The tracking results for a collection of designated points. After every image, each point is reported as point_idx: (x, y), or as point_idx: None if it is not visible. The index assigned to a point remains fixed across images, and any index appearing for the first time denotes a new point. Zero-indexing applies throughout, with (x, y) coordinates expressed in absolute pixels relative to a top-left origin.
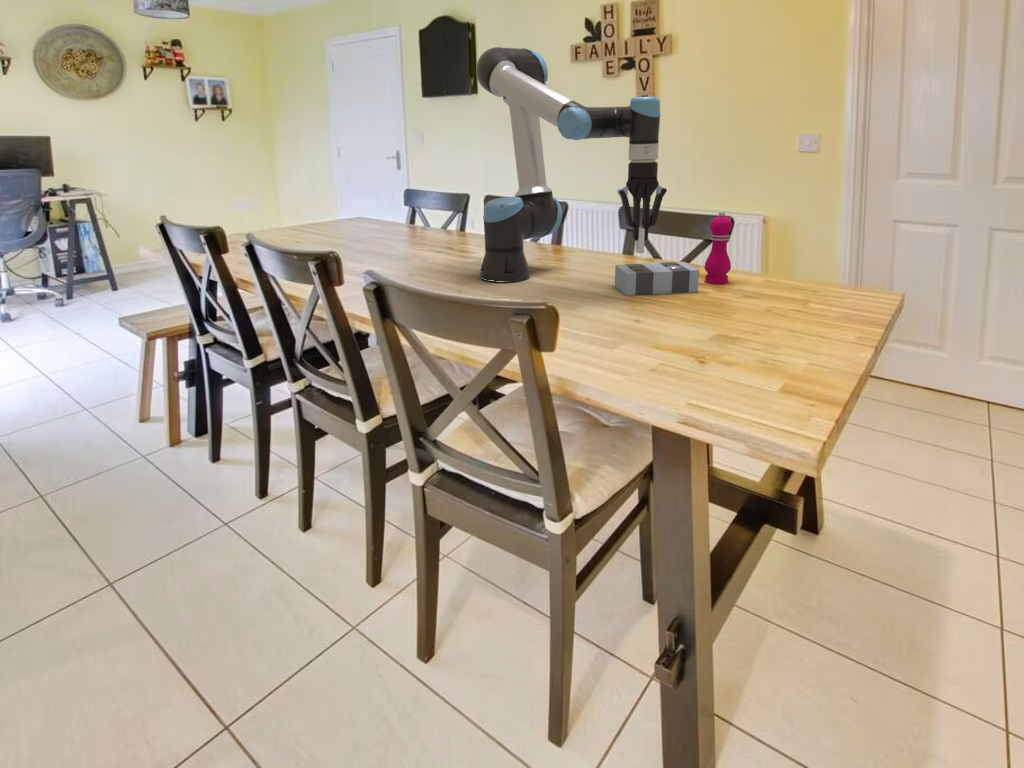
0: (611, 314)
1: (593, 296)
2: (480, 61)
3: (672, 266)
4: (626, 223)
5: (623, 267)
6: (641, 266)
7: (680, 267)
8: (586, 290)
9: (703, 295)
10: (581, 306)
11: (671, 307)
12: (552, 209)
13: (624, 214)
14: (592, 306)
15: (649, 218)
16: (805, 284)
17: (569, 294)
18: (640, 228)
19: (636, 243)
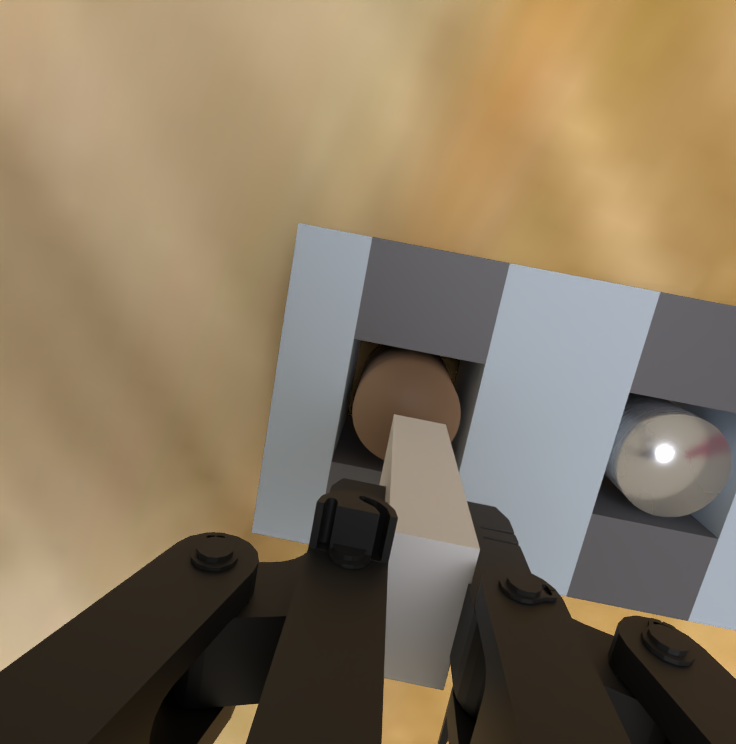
0: None
1: (121, 417)
2: None
3: (669, 456)
4: (174, 556)
5: (315, 342)
6: (461, 358)
7: (698, 509)
8: (125, 273)
9: (652, 617)
10: (13, 563)
11: (383, 727)
12: None
13: (6, 673)
14: (61, 582)
15: (671, 699)
16: None
17: (11, 325)
18: (390, 649)
19: (388, 460)
